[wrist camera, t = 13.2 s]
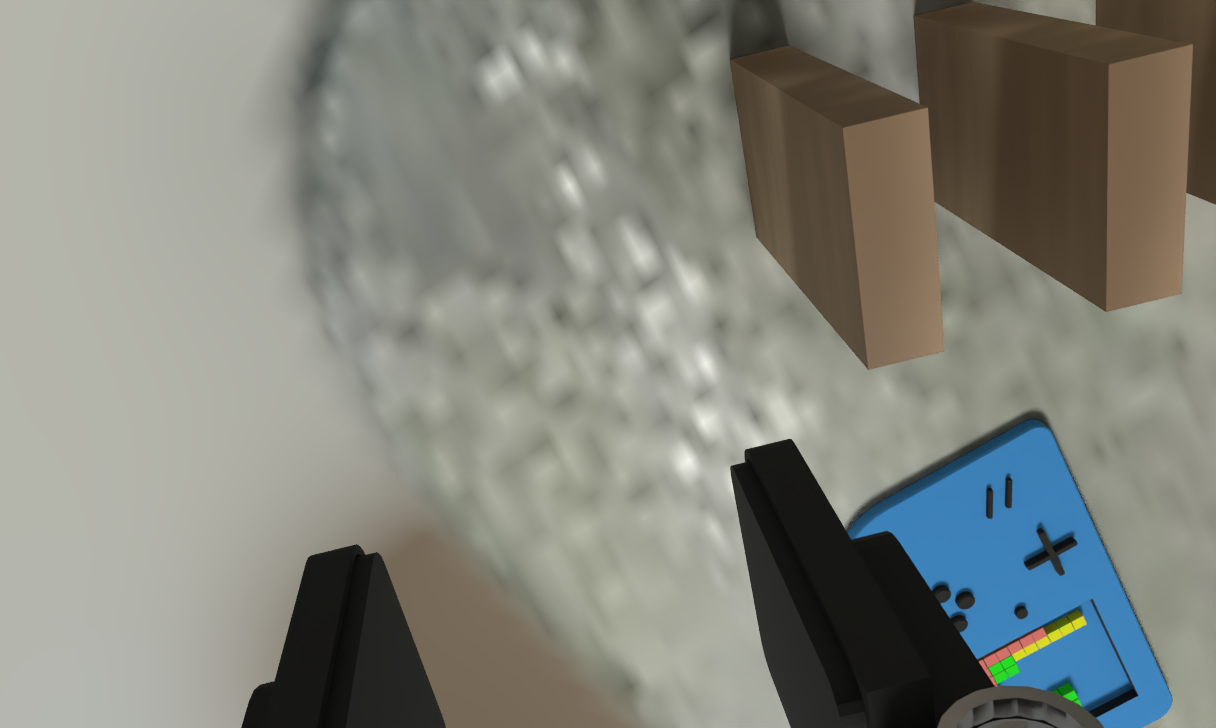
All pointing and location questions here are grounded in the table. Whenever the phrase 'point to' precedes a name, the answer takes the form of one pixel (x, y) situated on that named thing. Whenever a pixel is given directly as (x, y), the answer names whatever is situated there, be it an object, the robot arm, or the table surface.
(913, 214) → the walnut domino
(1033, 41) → the walnut domino
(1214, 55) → the walnut domino
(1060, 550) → the handheld gaming device
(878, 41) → the table surface
